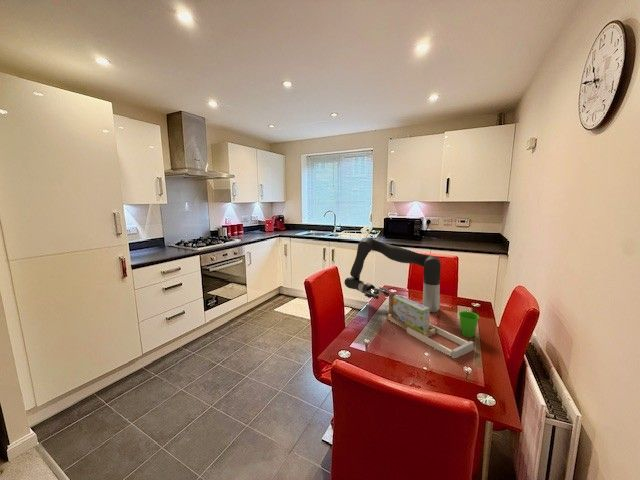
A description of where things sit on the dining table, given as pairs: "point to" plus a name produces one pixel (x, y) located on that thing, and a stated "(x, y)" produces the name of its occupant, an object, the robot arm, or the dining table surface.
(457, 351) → the frame
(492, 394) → the dining table surface
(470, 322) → the cup
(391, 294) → the pull frame
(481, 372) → the dining table surface
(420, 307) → the snack box
